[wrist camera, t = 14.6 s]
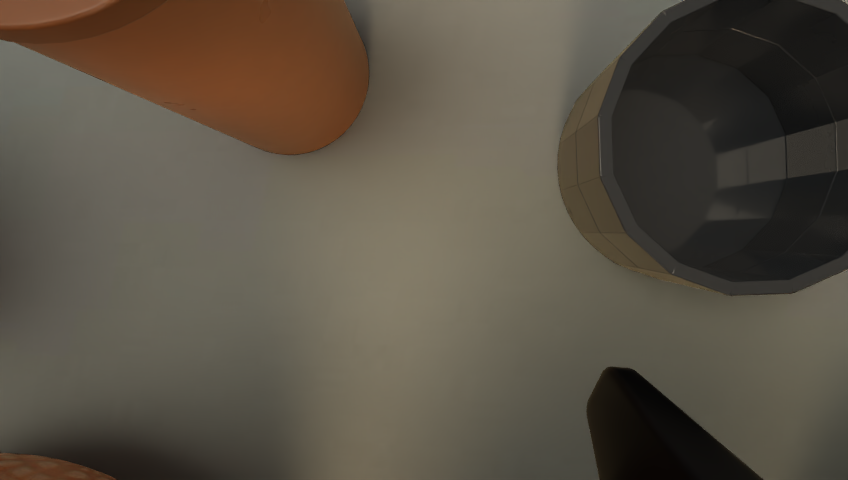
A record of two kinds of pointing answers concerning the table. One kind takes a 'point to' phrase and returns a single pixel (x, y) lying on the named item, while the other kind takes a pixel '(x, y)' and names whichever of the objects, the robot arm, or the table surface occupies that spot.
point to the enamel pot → (718, 148)
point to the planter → (44, 469)
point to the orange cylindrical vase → (214, 60)
